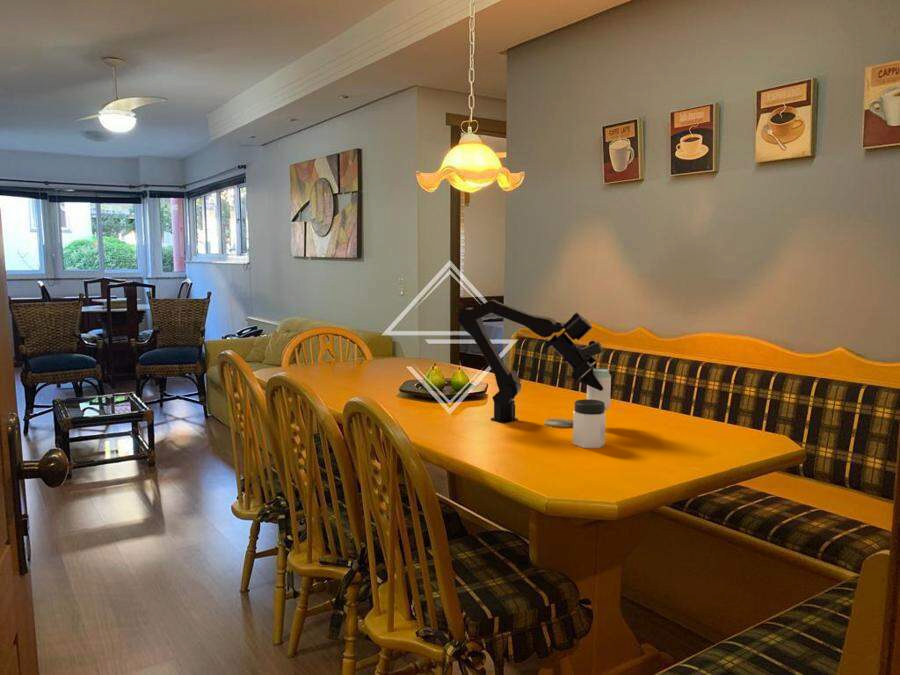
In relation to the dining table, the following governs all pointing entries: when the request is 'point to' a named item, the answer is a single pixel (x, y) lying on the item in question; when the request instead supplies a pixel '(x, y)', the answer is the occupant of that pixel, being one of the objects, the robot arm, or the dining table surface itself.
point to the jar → (589, 423)
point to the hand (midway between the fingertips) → (603, 387)
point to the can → (605, 381)
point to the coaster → (559, 422)
